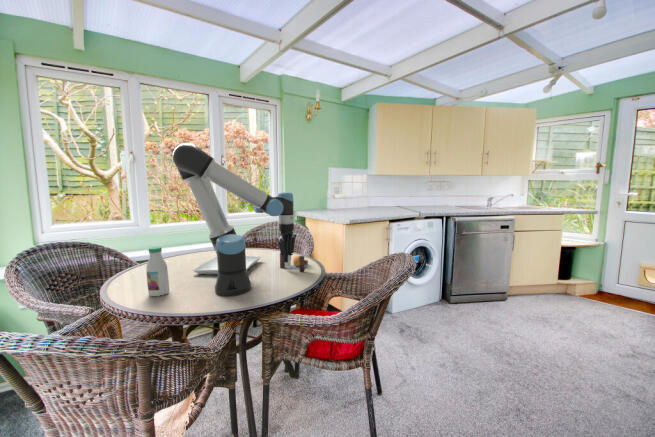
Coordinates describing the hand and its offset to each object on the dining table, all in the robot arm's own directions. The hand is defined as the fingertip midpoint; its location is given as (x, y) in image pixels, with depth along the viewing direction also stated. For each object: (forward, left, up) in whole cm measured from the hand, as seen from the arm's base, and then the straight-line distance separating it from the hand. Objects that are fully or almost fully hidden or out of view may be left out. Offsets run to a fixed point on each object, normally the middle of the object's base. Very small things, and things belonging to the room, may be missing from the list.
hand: (287, 267), depth 152 cm
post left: (+3, +7, -2) cm, 8 cm away
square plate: (-12, +31, -3) cm, 33 cm away
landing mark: (+9, 0, -2) cm, 9 cm away
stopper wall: (+14, 0, -2) cm, 14 cm away
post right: (+3, -7, -2) cm, 8 cm away
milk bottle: (-51, +29, -2) cm, 58 cm away
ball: (+9, 0, +1) cm, 9 cm away
